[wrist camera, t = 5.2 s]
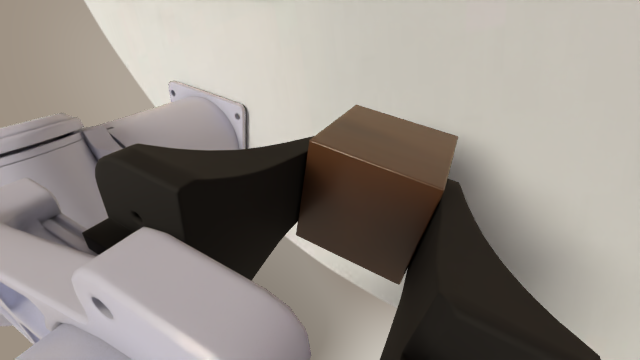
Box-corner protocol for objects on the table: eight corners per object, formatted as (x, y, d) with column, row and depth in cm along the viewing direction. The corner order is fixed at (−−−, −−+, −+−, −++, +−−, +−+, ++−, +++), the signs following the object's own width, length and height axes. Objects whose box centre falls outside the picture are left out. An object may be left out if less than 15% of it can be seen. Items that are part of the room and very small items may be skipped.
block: (421, 218, 13) (398, 285, 10) (338, 184, 14) (295, 235, 11) (458, 136, 11) (445, 190, 8) (356, 104, 12) (308, 139, 9)
